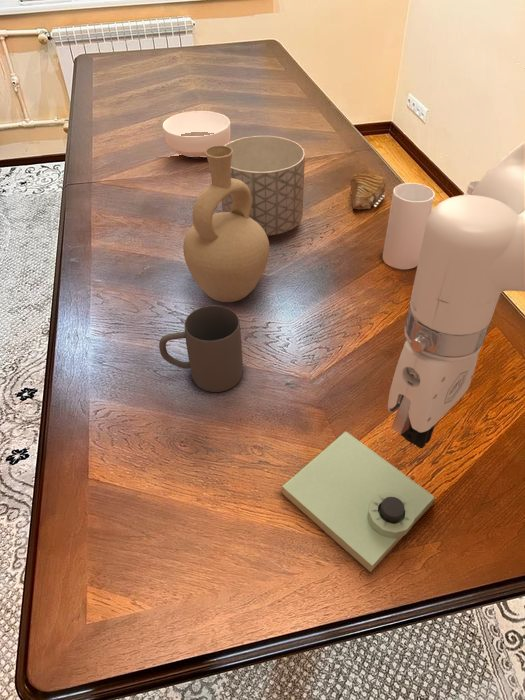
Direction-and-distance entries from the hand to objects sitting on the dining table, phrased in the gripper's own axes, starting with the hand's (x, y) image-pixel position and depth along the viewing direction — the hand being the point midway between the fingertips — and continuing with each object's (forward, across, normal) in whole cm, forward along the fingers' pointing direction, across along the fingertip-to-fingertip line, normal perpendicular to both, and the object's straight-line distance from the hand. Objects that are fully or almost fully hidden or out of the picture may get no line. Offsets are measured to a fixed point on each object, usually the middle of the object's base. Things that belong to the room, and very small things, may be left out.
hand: (414, 438), depth 65 cm
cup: (+16, +51, +35) cm, 64 cm away
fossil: (+16, +66, +56) cm, 88 cm away
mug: (+15, -3, +39) cm, 42 cm away
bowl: (+16, +56, +112) cm, 126 cm away
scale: (+15, -3, +5) cm, 16 cm away
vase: (+16, +16, +53) cm, 58 cm away
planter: (+16, +40, +67) cm, 79 cm away
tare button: (+12, -3, -1) cm, 13 cm away
